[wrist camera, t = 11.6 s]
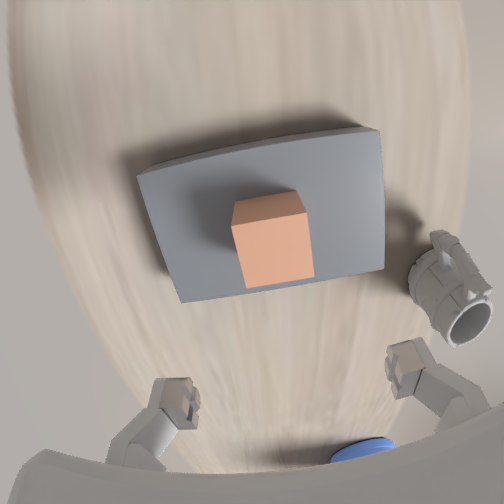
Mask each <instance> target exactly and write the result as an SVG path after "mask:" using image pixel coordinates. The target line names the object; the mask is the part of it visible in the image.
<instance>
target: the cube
mask: <svg viewBox="0 0 504 504" xmlns="http://www.w3.org/2000/svg"><path fill="white" fill-rule="evenodd" d="M231 229H232V233H233V237H234V241H235V245H236V249H237V253H238V257H239V261H240V265H241V269H242V273H243V277H244V281H245V285H246V288H252V287H258V286H264V285H271V284H277V283H282V282H288V281H294V280H300V279H306V278H311V277H314V267H313V258H312V250H311V241H310V233H309V225H308V218H307V212H306V210H305V208H304V205H303V203H302V201H301V199H300V197H299V194H298V192H297V191H291V192H285V193H279V194H273V195H268V196H262V197H257V198H251V199H246V200H241V201H235V205H234V211H233V217H232V222H231Z"/></svg>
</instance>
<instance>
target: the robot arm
mask: <svg viewBox="0 0 504 504" xmlns="http://www.w3.org/2000/svg"><path fill="white" fill-rule="evenodd" d="M386 352H387V355H388V356H387V357H386V359H385V372H386V376H387V379H388V380H389V381H391V382H392V385H391V390H392V392H393V395H394V398H395V400H397V399H401V398H404V397H408V396H411V395H414V397H416V398H417V399H418V400H419V401H421V402H422V403H423V404H424V405H425V406H427V407H428V408H429V409H430V410H432V411H433V412H434V413H435V414H437V415H438V416H439V417H440V418H441V419H440V421H439V422H438V424H437V426H436V427H435V429H434V431H435V434H434V435H431V436H429V437H426V438H423V439H420V440H417V441H414V442H411V443H408V444H405V445H402V446H399V447H396V448H392V449H389V450H385V451H382V452H378V453H375V454H371V455H367V456H363V457H359V458H354V459H350V460H345V461H340V462H335V463H330V464H324V465H319V466H312V467H306V468H298V469H290V470H281V471H271V472H258V473H238V474H197V473H177V472H166V467H165V465H163V464H162V463H161V462H160V461H159V460H157V459H158V458H159V456H160V455H161V454H162V453H163V451H164V450H165V449H166V447H167V446H168V445H169V443H170V442H171V441H172V439H173V438H174V437H175V435H176V434H177V433H178V431H179V430H188V429H197V426H198V418H199V416H198V415H197V413H196V412H197V411H198V409H199V408H200V395H199V391H198V390H197V388H196V387H194V386H193V381H192V379H191V378H190V377H186V378H156V380H155V381H154V384H153V388H152V392H151V396H150V399H149V403H148V407H147V408H144V409H143V410H142V411H141V412H140V413H139V414H138V415H137V416H136V417H135V418H134V419H133V420H132V421H131V422H130V423H129V424H128V425H127V426H126V427H125V428H124V429H123V430H122V431H121V432H119V433H118V434H117V435H116V437H114V438H113V439H112V440H111V444H110V447H109V451H108V455H107V458H106V462H105V463H101V462H96V461H91V460H87V459H82V458H78V457H74V456H70V455H66V454H63V453H60V452H56V451H53V450H48V449H45V450H42V451H40V452H39V453H37V454H36V455H35V456H33V457H32V458H31V459H30V460H28V461H27V462H26V463H25V464H24V465H23V466H22V468H21V470H20V471H19V473H18V475H17V478H16V480H15V483H14V485H13V488H12V490H11V493H10V497H9V500H8V503H7V504H504V402H503V403H501V404H499V405H497V406H495V407H493V408H491V407H490V405H489V403H488V401H487V400H486V397H485V396H484V394H483V392H482V390H481V388H480V387H479V386H478V385H476V384H474V383H473V382H471V381H469V380H467V379H466V378H464V377H462V376H461V375H459V374H457V373H455V372H453V371H452V370H450V369H448V368H447V367H445V366H443V365H442V364H436V362H435V360H434V358H433V356H432V354H431V352H430V351H429V349H428V347H427V345H426V343H425V341H424V340H423V338H422V337H418V338H415V339H412V340H407V341H404V342H400V343H397V344H393V345H389V346H388V347H387V351H386Z"/></svg>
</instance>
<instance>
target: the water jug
mask: <svg viewBox="0 0 504 504" xmlns="http://www.w3.org/2000/svg"><path fill="white" fill-rule="evenodd" d="M392 448H395V445H394V443H393V441H391V440H389V439H386V438H377V439H370V440H365V441H362V442H358V443H355V444H352V445H350V446H348V447H345V448H343V449H341V450H340V451H338V452H337V453H336V454H334V455H333V457H332V458H331V461H330V463H335V462H340V461H345V460H350V459H354V458H359V457H363V456H367V455H371V454H375V453H378V452H382V451H385V450H389V449H392Z"/></svg>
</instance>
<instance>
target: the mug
mask: <svg viewBox="0 0 504 504" xmlns="http://www.w3.org/2000/svg"><path fill="white" fill-rule="evenodd" d="M430 239H431V242H432V245H433V247H434V249H432V250H430V251H427V252H426V253H424V254H423V255H421V256H420V258H418V259H417V260H416V264H415V265H413V266H412V268H411V270H410V272H409V276H408V283H409V290H410V295H411V297H412V299H413V302H414V303H415V304H417V305H418V306H419V307H422V309H423V310H424V311H425V312H426V314H427V315H428V317H429V319H430V323H431V326H432V328H433V329H435V330H436V331H438V332H440V333H441V335H442V336H443V338H444V339H445V341H446V342H447V343H448V344H449V345H450V346H452V347H459V346H462V345H464V344H466V343H469V342H471V341H473V340H474V339H476V338H477V335H478V336H479V335H480V334H481V333H482V332H483V331H484V330H485V328H486V327H487V325H488V324H489V322H490V320H491V317H492V313H493V304H492V302H491V301H490V299H489V298H488V297H487V295H489V294H490V293H491V292H492V290H493V288H492V287H491V286H490V285H489V284H487V283H486V281H485V280H484V278H483V277H482V276H481V274H480V273H479V269H478V268H477V266H476V264H475V263H474V262H473V260H472V258H471V256H470V254H469V253H467V252H466V251H465V249H464V248H463V246H462V243H461V241H460V240H459V239H458V238H457V237H455V236H453V235H451V234H450V233H449V232H447V231H444V230H437V231H433V232H431V233H430Z"/></svg>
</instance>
